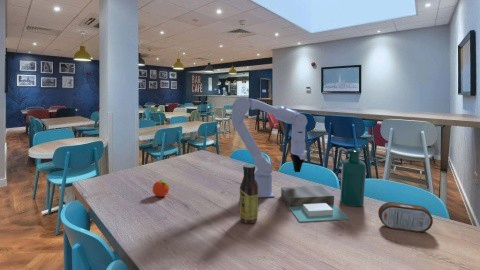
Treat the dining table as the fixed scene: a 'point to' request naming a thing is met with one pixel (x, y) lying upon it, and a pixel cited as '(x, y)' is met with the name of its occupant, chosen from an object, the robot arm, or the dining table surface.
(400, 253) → the dining table surface
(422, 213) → the tin
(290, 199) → the grey flat block
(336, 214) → the mat
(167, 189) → the clementine
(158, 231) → the dining table surface
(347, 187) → the green bottle
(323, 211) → the white block
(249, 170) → the sauce bottle
